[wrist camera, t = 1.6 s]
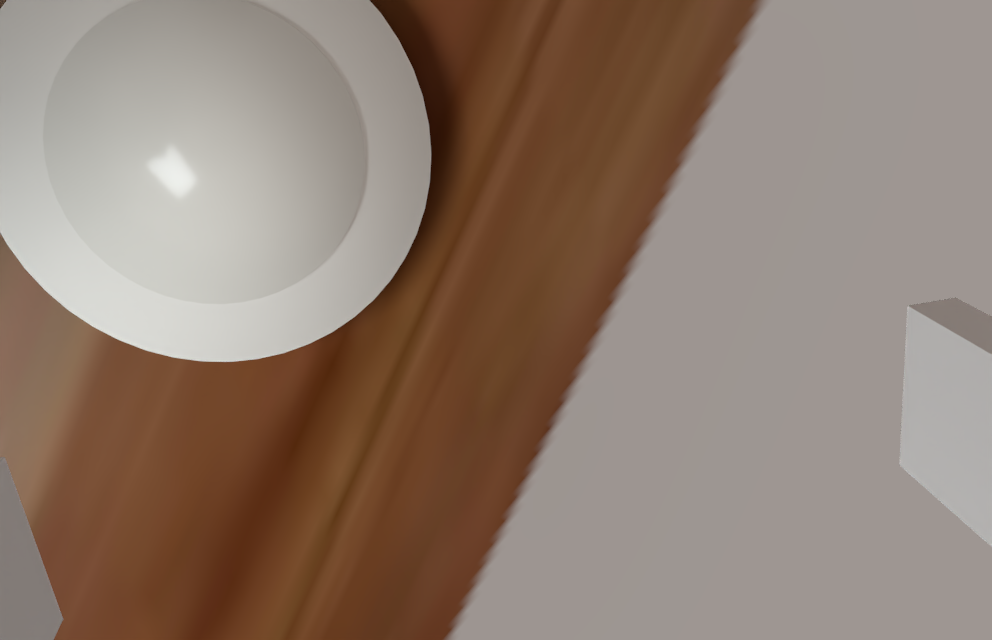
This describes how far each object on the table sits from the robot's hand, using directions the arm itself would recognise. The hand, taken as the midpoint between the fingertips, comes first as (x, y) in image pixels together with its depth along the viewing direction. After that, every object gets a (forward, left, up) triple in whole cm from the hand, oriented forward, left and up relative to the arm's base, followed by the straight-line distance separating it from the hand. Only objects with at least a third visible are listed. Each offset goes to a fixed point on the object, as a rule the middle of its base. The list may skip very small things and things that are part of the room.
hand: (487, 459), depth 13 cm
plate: (-5, -5, -21) cm, 22 cm away
